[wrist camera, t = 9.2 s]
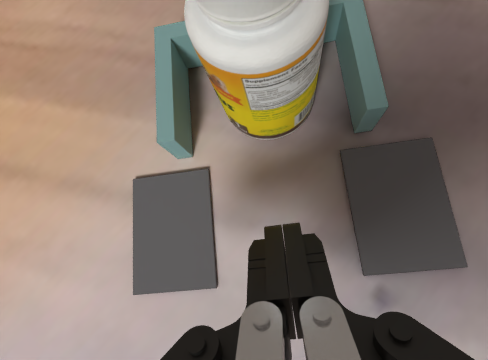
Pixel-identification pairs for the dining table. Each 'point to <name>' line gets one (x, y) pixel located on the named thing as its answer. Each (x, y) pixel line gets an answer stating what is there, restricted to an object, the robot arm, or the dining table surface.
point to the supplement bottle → (260, 59)
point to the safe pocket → (337, 29)
